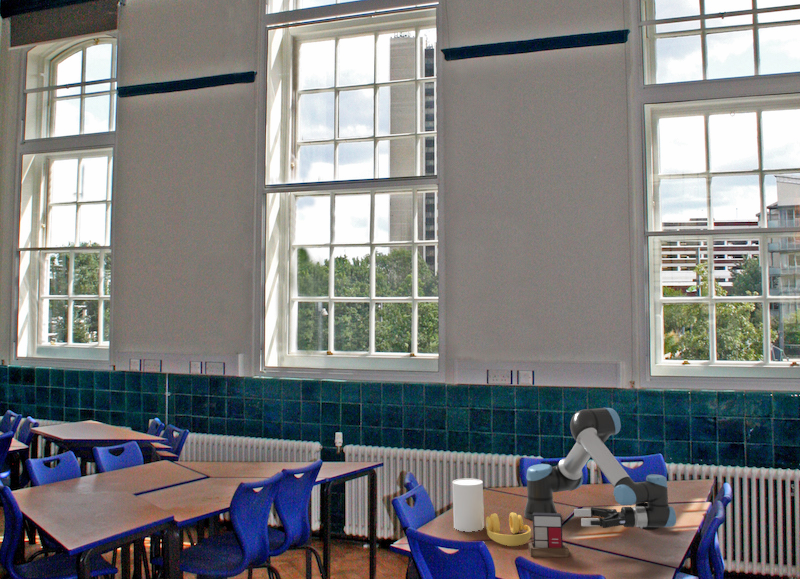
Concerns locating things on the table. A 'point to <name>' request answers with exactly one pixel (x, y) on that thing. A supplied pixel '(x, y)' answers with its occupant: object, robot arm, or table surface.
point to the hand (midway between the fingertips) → (577, 517)
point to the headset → (515, 526)
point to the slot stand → (548, 551)
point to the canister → (468, 504)
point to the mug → (645, 506)
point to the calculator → (547, 530)
